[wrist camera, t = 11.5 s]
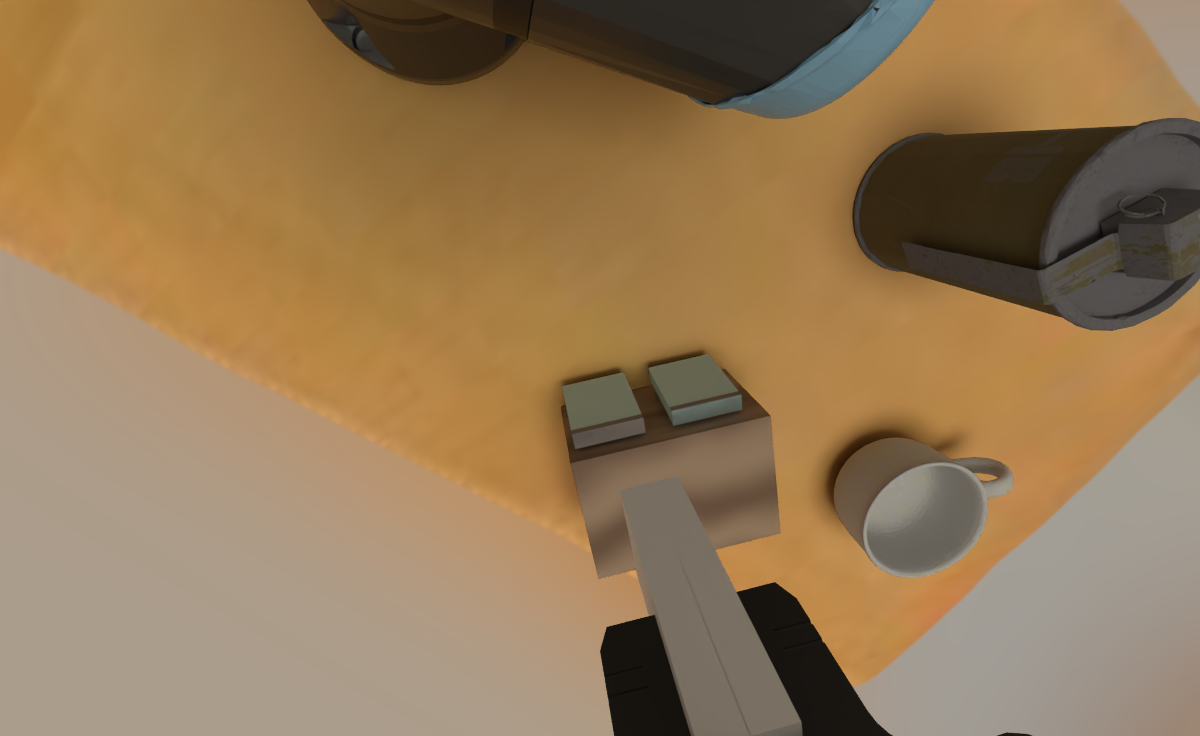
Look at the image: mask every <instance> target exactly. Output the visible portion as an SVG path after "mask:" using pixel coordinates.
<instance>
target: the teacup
mask: <svg viewBox="0 0 1200 736" xmlns="http://www.w3.org/2000/svg"><path fill="white" fill-rule="evenodd" d="M974 473H983V474H989V475H993V476H996V477H998V478H997V479H995V480H991V481H981V480H979V479H978V477H977V476H976V475H975V474H974ZM1013 483H1014V479H1013V475H1012V472H1011V471H1010V469H1009V468H1008V467H1007V466H1006V465H1004V464H1003V463H1001V462H999V461H996V460H993V459H989V458H978V457H972V458H960V459H949V458H948V457H946V456H945V455H943V454H941V453H940V452H938V451H936V450H935V449H933V448H931V447H929V446H927V445H926V444H923V443H921V442H918V441H915V440H912V439H907V438H896V437H895V438H885V439H881V440H877V441H874V442H872V443H870V444H867V445H866V446H864V447H862V448H861V449H859V450H858V451H857V452H855V453H854V454H853V455H852V456H851V457H850V458H849V459H848V460H847V461H846V463H845V464H844V465H843V467H842V468H841V470H840V472H839V474H838V477H837V479H836V483H835V487H834V504H835V508H836V511H837V514H838V516H839V518H840V520H841V522H842V523H843V525H844V526H845V528H846V529H847V531H848V532H849V533H850V534H851V536H852V537H853V538H854V539H855V540H856V542H857V543H858V544H859V545H860V546H861V547H862V549H863V550H864V551H865V552H866V554H867V556H868V557H869V559H870V560H871V561H872V562H873V563H874V564H875V565H876V566H877V567H878V568H880V569H881V570H883V571H885V572H886V573H889V574H891V575H895V576H899V577H905V578H916V577H924V576H928V575H932V574H935V573H938V572H940V571H942V570H945V569H946V568H948V567H949V566H951V565H953V564H955V563H956V562H958V561H959V560H960V559H961V558H963V557H964V556H965V555H966V554H967V553H968V552H969V551H970V550H971V548H972V547H973V546H974V545H975V543H976V542H977V541H978V539H979V537H980V536H981V533H982V531H983V529H984V527H985V524H986V520H987V513H988V498H993V497H999V496H1002V495H1005V494H1007V493H1008V492H1009V491H1010V490H1011V489H1012V487H1013Z"/></svg>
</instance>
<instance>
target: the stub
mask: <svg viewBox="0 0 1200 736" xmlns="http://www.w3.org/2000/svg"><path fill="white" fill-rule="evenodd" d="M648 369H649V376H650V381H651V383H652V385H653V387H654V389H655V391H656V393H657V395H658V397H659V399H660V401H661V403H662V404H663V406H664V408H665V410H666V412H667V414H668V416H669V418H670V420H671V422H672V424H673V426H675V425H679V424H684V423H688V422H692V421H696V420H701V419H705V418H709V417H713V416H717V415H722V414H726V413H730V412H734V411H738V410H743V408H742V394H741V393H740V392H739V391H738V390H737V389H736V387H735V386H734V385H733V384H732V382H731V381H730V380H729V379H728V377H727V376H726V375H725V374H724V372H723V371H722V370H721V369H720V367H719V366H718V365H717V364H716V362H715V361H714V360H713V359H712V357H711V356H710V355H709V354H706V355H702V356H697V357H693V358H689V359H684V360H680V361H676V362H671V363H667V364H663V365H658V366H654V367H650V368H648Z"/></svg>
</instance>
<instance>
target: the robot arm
mask: <svg viewBox="0 0 1200 736" xmlns="http://www.w3.org/2000/svg"><path fill="white" fill-rule="evenodd" d="M307 1H308V2H309V4H310V5H311V7H312V8H313V10H314V11H315V13H316V14H317V15H318V17H319V18H320V19H321V21H322V22H323V23H324V24H325V25H326V27H327V28H328V29H329V30H330V31H331V32H332V33H333V34H334V35H335V36H336V37H337V38H338V39H339V40H340V41H341V42H342V43H343V44H344V45H345V46H347V47H348V48H349V49H350V50H352V51H353V52H354V53H355V54H357V55H358V56H360V57H361V58H363V59H364V60H366V61H367V62H369V63H370V64H372V65H374V66H375V67H377V68H379V69H380V70H382V71H384V72H386V73H388V74H391V75H393V76H396V77H398V78H401V79H404V80H407V81H411V82H415V83H421V84H429V85H450V84H457V83H462V82H466V81H470V80H473V79H476V78H478V77H480V76H483V75H485V74H487V73H489V72H491V71H492V70H494V69H495V68H497V67H498V66H500V65H501V64H502V63H504V62H505V61H506V60H507V59H508V58H509V57H511V56H512V55H513V54H514V53H515V51H516V50H517V49H518V48H519V47H520V46H521V44H522V43H523V42H524V40H525V39H526V40H528V42H531V43H533V44H536V45H539V46H542V47H545V48H548V49H551V50H554V51H557V52H560V53H563V54H566V55H569V56H572V57H575V58H578V59H581V60H584V61H587V62H590V63H593V64H596V65H599V66H602V67H605V68H607V69H610V70H613V71H616V72H619V73H622V74H625V75H628V76H631V77H634V78H637V79H640V80H643V81H646V82H649V83H652V84H655V85H658V86H661V87H664V88H667V89H670V90H673V91H676V92H678V93H681V94H684V95H687V96H688V97H689V98H690V99H692V100H693V101H695V102H696V103H698V104H701V105H703V106H706V107H709V108H710V107H715V108H718V109H730V108H732V109H736V110H739V111H743V112H746V113H750V114H754V115H757V116H761V117H764V118H771V119H786V118H794V117H798V116H802V115H805V114H808V113H811V112H813V111H816V110H818V109H820V108H822V107H824V106H826V105H828V104H830V103H832V102H833V101H835V100H837V99H838V98H840V97H841V96H843V95H844V94H846V93H847V92H848V91H850V90H851V89H853V88H854V87H855V86H856V85H857V84H859V83H860V82H861V81H862V80H864V79H865V78H866V77H867V76H868V75H869V74H871V73H872V72H873V71H874V70H875V69H876V68H877V67H878V66H879V65H880V64H881V63H882V62H883V61H884V60H885V59H886V58H887V57H888V56H889V55H890V54H891V53H892V52H893V51H894V50H895V49H896V48H897V47H898V46H899V45H900V44H901V42H902V41H903V40H904V39H905V38H906V37H907V36H908V34H909V33H910V32H911V31H912V30H913V28H914V27H915V26H916V25H917V23H918V22H919V21H920V19H921V18H922V17H923V15H924V14H925V13H926V11H927V10H928V9H929V7H930V6H931V5H932V3H933V2H934V1H935V0H307ZM620 495H621V499H622V504H623V509H624V514H625V518H626V523H627V528H628V533H629V538H630V542H631V547H632V552H633V557H634V561H635V566H636V571H637V576H638V579H639V583H640V586H641V590H642V593H643V596H644V600H645V604H646V607H647V611H648V614H649V616H648V617H644V618H640V619H636V620H633V621H629V622H625V623H621V624H617V625H613V626H609V627H607V628H606V632H605V635H604V639H603V643H602V646H601V650H600V653H601V659H602V665H603V671H604V677H605V683H606V689H607V695H608V700H609V707H610V713H611V718H612V725H613V731H614V736H892V735H890V734H889V733H888V732H887V731H886V730H884V729H883V728H882V727H881V726H880V725H879V724H878V723H876V721H875V720H874V719H873V717H872V716H871V715H870V713H869V712H868V711H867V709H866V708H865V706H864V705H863V703H862V701H861V700H860V698H859V697H858V695H857V693H856V692H855V690H854V689H853V687H852V685H851V684H850V682H849V681H848V679H847V678H846V676H845V674H844V673H843V671H842V670H841V668H840V666H839V665H838V663H837V662H836V660H835V659H834V657H833V655H832V654H831V652H830V651H829V649H828V647H827V646H826V644H825V643H823V641H822V638H821V636H820V635H819V633H818V632H817V630H816V628H815V627H814V625H813V624H811V622H810V619H809V617H808V616H807V614H806V613H805V611H804V609H803V608H802V606H801V605H800V603H799V602H798V600H797V598H795V597H794V596H793V595H791V594H790V593H789V592H787V591H786V590H785V589H783V588H782V587H781V586H779V585H778V584H777V583H775V582H774V583H770V584H766V585H762V586H758V587H754V588H751V589H747V590H743V591H739V592H736V591H735V589H734V587H733V585H732V583H731V581H730V579H729V577H728V575H727V573H726V571H725V569H724V567H723V565H722V563H721V561H720V559H719V557H718V555H717V553H716V551H715V549H714V547H713V545H712V543H711V541H710V539H709V537H708V535H707V533H706V531H705V529H704V527H703V525H702V523H701V521H700V519H699V517H698V515H697V513H696V511H695V509H694V507H693V505H692V503H691V501H690V499H689V497H688V495H687V493H686V491H685V489H684V487H683V485H682V483H681V481H680V479H679V477H678V476H676V477H672V478H668V479H664V480H660V481H656V482H652V483H647V484H643V485H639V486H635V487H631V488H627V489H623V490H620ZM998 736H1031V735H1029V734H1020V733H1004V734H1001V735H998Z"/></svg>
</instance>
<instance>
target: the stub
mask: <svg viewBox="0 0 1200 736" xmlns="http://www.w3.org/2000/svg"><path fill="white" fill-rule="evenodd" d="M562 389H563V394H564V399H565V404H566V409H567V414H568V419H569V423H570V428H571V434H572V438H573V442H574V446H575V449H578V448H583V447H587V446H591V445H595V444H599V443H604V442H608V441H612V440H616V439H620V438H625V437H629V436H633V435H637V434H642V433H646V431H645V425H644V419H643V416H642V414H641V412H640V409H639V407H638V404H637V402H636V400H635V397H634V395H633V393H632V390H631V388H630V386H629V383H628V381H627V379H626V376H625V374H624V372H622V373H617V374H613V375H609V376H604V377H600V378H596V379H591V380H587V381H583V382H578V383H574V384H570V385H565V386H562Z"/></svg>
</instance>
